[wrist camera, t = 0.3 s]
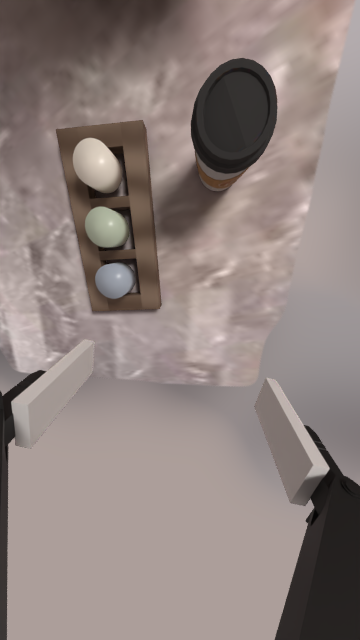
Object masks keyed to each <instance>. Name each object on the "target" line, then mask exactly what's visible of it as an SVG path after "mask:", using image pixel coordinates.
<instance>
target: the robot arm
mask: <svg viewBox="0 0 360 640" xmlns="http://www.w3.org/2000/svg"><path fill="white" fill-rule="evenodd" d="M94 345H95V341H90V340H83V341H82V342H81V343H80V344H79V345H77V346H76V347H75V348H74V349H73V350H72V351H70V352H69V353H68V354H67V355H66V356H64V357H63V358H62V359H61V360H60V361H59V362H57V363H56V364H55V365H54V366H53V367H51V368H50V369H49V370H48V371H42V370H39V371H37V372H34V373H32V374H30V375H29V376H28V377H26V378H25V379H24V380H23V381H21V382H20V383H19V384H17V386H15V387H13V388H12V389H11V390H10V391H8V392H7V393H6V394H4V396H2V393H1V392H0V640H7V542H8V541H7V540H8V539H7V535H8V444H9V443H10V442H11V440H12V439H13V438H14V437H15V445H16V446H20V447H25V448H30V449H31V448H32V447H33V445H34V444H35V443H36V442H37V440H38V439H39V438H40V436H42V434H43V433H44V432H45V431H46V429H47V428H48V427H49V426H50V424H51V423H52V422H53V421H54V419H55V418H56V417H57V416H58V414H59V413H60V412H61V411H62V410H63V408H64V407H65V406H66V405H67V403H68V402H69V401H70V400H71V398H72V397H73V396H74V395H75V393H76V392H77V391H78V390H79V389H80V387H81V386H82V385H83V384H84V382H85V381H86V380H87V379H88V377H89V376H90V375H91V374H92V372H93V360H94ZM254 407H255V410H256V412H257V415H258V418H259V420H260V423H261V426H262V428H263V431H264V434H265V436H266V439H267V442H268V445H269V447H270V450H271V453H272V455H273V458H274V460H275V463H276V466H277V469H278V471H279V474H280V477H281V479H282V482H283V485H284V488H285V490H286V493H287V496H288V498H289V501H290V503H293V504H298V505H303V506H305V505H306V504H307V503H308V501H309V500H310V498H311V500H312V503H313V505H314V509H313V510H312V512H311V513H310V515H309V516H308V518H307V519H306V522H307V523H308V522H309V523H308V526H307V530H306V533H305V536H304V540H303V544H302V547H301V550H300V554H299V557H298V561H297V564H296V568H295V571H294V575H293V578H292V582H291V585H290V588H289V592H288V596H287V599H286V602H285V606H284V610H283V613H282V616H281V620H280V623H279V627H278V630H277V633H276V637H275V640H360V486H359V485H358V484H356V483H355V482H354V481H353V480H351V479H350V478H348V477H346V476H344V475H343V474H342V472H341V471H340V469H339V468H338V466H337V465H336V463H335V462H334V460H333V459H332V457H331V456H330V454H329V452H328V451H326V448H325V446H324V445H323V444H322V442H321V440H320V439H319V437H318V436H317V434H316V433H315V432H314V431H313V430H312V429H311V428H310V427H309V426H305V425H303V424H302V422H301V420H300V419H299V417H298V416H297V414H296V412H295V411H294V409H293V407H292V406H291V404H290V402H289V401H288V399H287V397H286V396H285V394H284V393H283V391H282V389H281V388H280V386H279V384H278V383H277V381H276V380H274V379H269V378H266V379H265V381H264V384H263V386H262V389H261V391H260V393H259V396H258V398H257V401H256V403H255V406H254Z"/></svg>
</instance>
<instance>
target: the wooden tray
mask: <svg viewBox="0 0 360 640" xmlns="http://www.w3.org/2000/svg"><path fill="white" fill-rule="evenodd" d="M56 133H57V138H58V143H59V148H60V153H61V158H62V162H63V167H64V172H65V177H66V182H67V187H68V192H69V197H70V202H71V207H72V212H73V217H74V222H75V227H76V232H77V237H78V242H79V246H80V251H81V256H82V261H83V266H84V271H85V276H86V281H87V286H88V291H89V296H90V301H91V306H92V311H111V310H140V309H160V307H161V293H160V282H159V270H158V259H157V247H156V236H155V224H154V213H153V201H152V190H151V178H150V167H149V155H148V144H147V132H146V127H145V125H144V123H143V120H139V121H129V122H120V123H111V124H102V125H92V126H83V127H74V128H65V129H56ZM86 138H95V139H97V140H99V141H101V142H102V143H104V144H105V146H106V147H107V148H108V149H109V150H110V151H111V152H112V153H113V154H122V153H124V158H125V167H126V175H127V184H128V192H129V196H121V197H108V198H96V197H95V191H94V188H92V187H90V186H89V185H87V184H85V183H84V182H83V181H81V179H80V178H79V177H78V176H77V174H76V172H75V169H74V166H73V153H74V150H75V148H76V146H77V144H78V143H79V142H80V141H82V140H83V139H86ZM96 207H106V208H109V209H111V210H113V211H115V210H129V209H131V217H132V226H133V234H134V242H135V249H129V250H112V251H104V247H100V246H98V245H96V244H94V243H93V242H92V241H91V240H90V238H89V237H88V235H87V233H86V229H85V220H86V217H87V215H88V213H89V212H90V211H91V210H92V209H94V208H96ZM132 258H136V259H137V268H138V276H139V284H140V292H137V293H126V294H125V295H123V296H122V297H120V298H116V299H112V298H108V297H106V296H104V295H103V294H102V293H101V292H100V291H99V290H98V288H97V286H96V283H95V276H96V273H97V271H98V270H99V268H101V267H102V266H104V265H107V263H106V260H114V259H132Z"/></svg>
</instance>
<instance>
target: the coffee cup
mask: <svg viewBox="0 0 360 640" xmlns="http://www.w3.org/2000/svg"><path fill="white" fill-rule="evenodd" d="M276 120H277V95H276V89H275V86H274V83H273V81H272V78H271V76H270V75H269V73H268V72H267V71H266V70H265V68H264V67H263V66H262V65H260V64H258V63H257V62H255V61H254V60H250V59H245V58H239V59H232V60H230V61H228V62H226V63H224V64H222V65H220V66H219V67H218V68H217V69H216V70H215V71H213V72H212V73H211V75H210V76H209V78H208V79H207V80H206V81H205V83H204V84H203V86H202V87H201V89H200V91H199V93H198V96H197V98H196V101H195V103H194V109H193V114H192V120H191V137H192V141H193V145H194V149H195V156H196V163H197V168H198V173H199V177H200V180H201V181H202V183H203V184H204V185H205V187H206V188H208V189H210V190H212V191H222V190H225V189H227V188H228V187H230V186H231V185H232V184H233V183H235V182H236V181H237V180H238V179H239V177H240V176H241V175H242V174H243V173H244V172H245V171H246V170H247V169H248V168H249V167H250V166H251V165H252V164H254V163H255V162H256V161H257V160H258V159H259V157H260V156H261V155H262V154H263V153H264V151H265V149H266V147H267V145H268V143H269V141H270V139H271V137H272V135H273V131H274V128H275V124H276Z"/></svg>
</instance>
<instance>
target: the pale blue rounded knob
mask: <svg viewBox="0 0 360 640" xmlns="http://www.w3.org/2000/svg"><path fill="white" fill-rule="evenodd" d="M135 281H136V278H135V274H134V272H133V270H132V269H131V267H129V266H128V265H127V264H125V263H121V262H117V263H112V264H107V265H104V266H102V267H101V268H99V270H98V271H97V273H96V276H95V283H96V286H97V288H98V290H99V291H100V292H101V293H102V294H103V295H104V296H106V297H108V298H112V299H116V298H120V297H122V296H123V295H125V294H126V293H128V292H129V291H131V290H132V289H133V287H134V285H135Z"/></svg>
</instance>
